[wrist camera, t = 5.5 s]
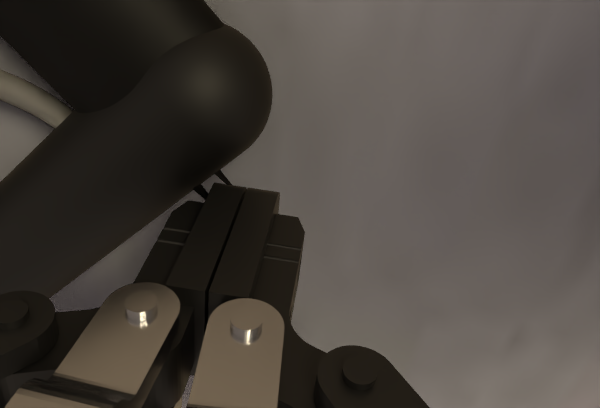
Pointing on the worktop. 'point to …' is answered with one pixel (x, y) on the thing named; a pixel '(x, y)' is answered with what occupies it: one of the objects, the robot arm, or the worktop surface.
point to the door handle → (118, 125)
